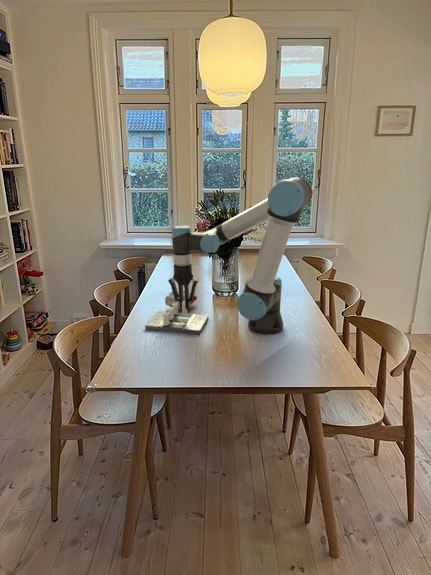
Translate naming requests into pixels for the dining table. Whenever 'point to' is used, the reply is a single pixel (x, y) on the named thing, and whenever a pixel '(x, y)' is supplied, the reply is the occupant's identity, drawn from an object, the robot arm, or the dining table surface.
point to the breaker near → (166, 319)
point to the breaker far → (175, 308)
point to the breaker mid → (171, 313)
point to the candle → (171, 300)
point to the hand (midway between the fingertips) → (184, 315)
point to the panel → (178, 323)
